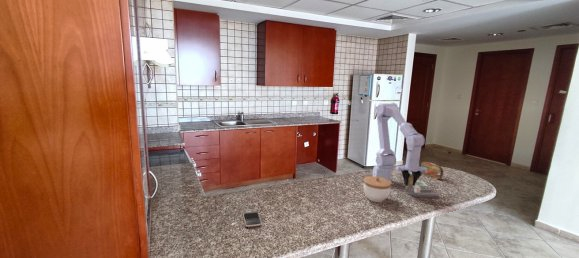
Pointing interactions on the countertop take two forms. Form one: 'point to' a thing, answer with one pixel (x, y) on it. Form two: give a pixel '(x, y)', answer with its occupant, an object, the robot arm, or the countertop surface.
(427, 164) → the tin
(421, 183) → the holder
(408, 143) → the robot arm
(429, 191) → the switch panel
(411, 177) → the tan rounded cylinder
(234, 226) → the countertop surface
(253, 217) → the cell phone
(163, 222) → the countertop surface
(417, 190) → the switch tab
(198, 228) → the countertop surface
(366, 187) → the lidded bowl
